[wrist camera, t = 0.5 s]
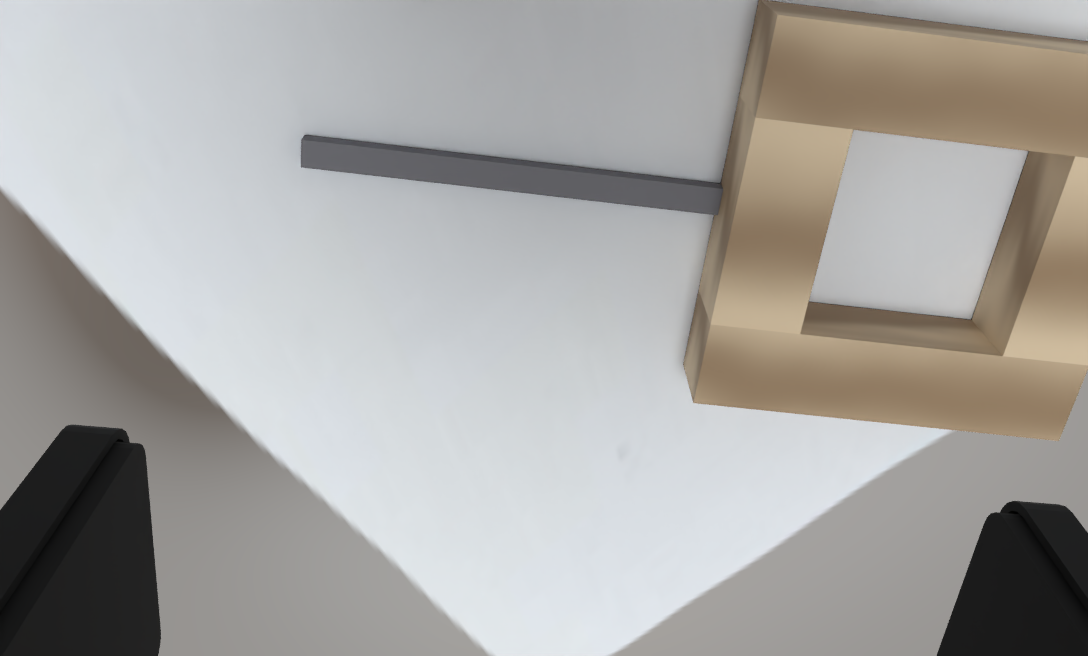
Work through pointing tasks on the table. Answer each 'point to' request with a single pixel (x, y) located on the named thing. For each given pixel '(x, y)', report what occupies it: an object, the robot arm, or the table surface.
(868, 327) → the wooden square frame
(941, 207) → the table surface
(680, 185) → the gray strip
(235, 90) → the table surface
